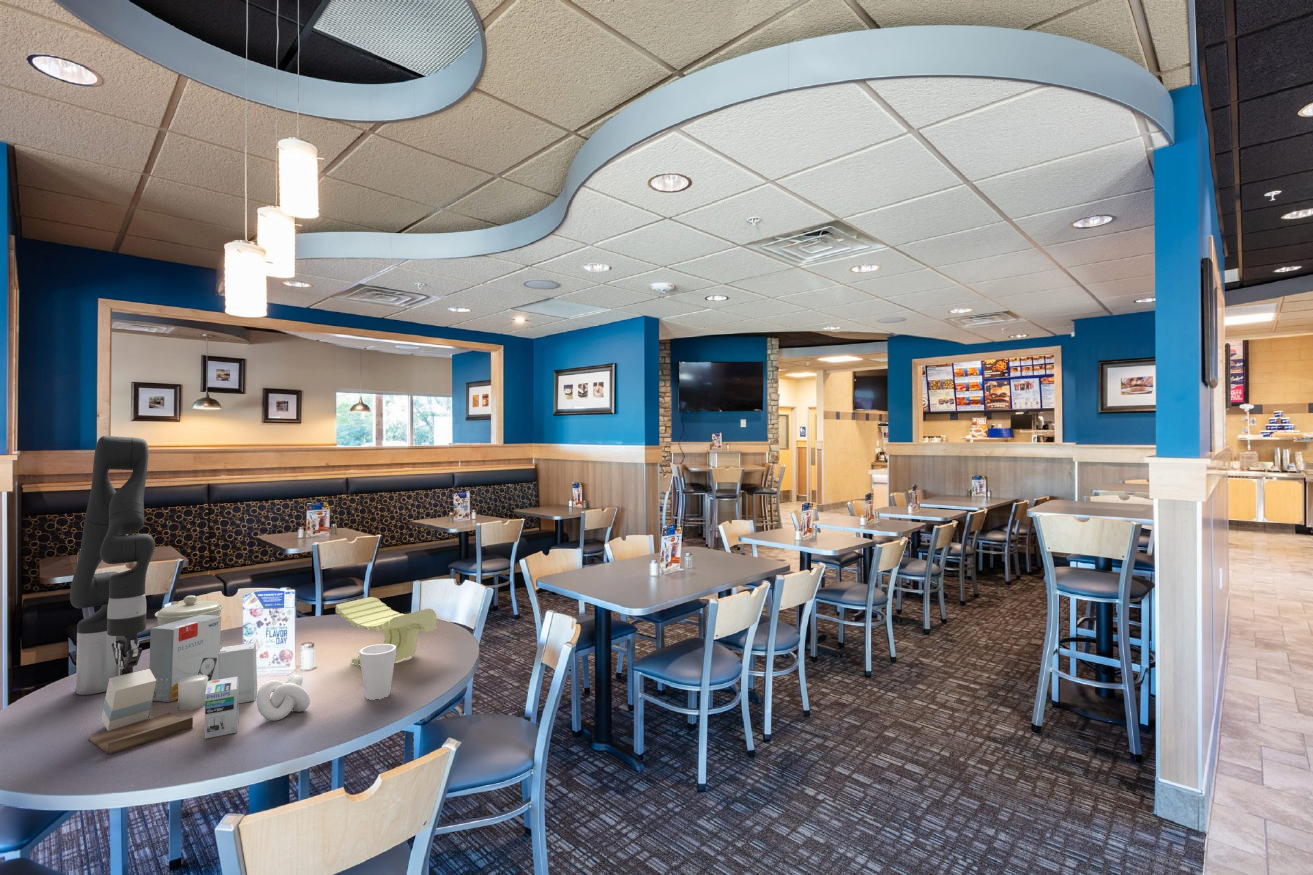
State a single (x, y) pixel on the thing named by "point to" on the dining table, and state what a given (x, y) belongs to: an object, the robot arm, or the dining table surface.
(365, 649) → the foam cup
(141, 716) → the cream carton
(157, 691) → the hard drive box
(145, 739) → the walnut display plinth
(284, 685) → the white knot sculpture
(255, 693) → the skincare box
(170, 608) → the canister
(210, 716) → the light bulb box
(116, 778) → the dining table surface
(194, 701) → the white cylinder
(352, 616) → the slatted curved stool
